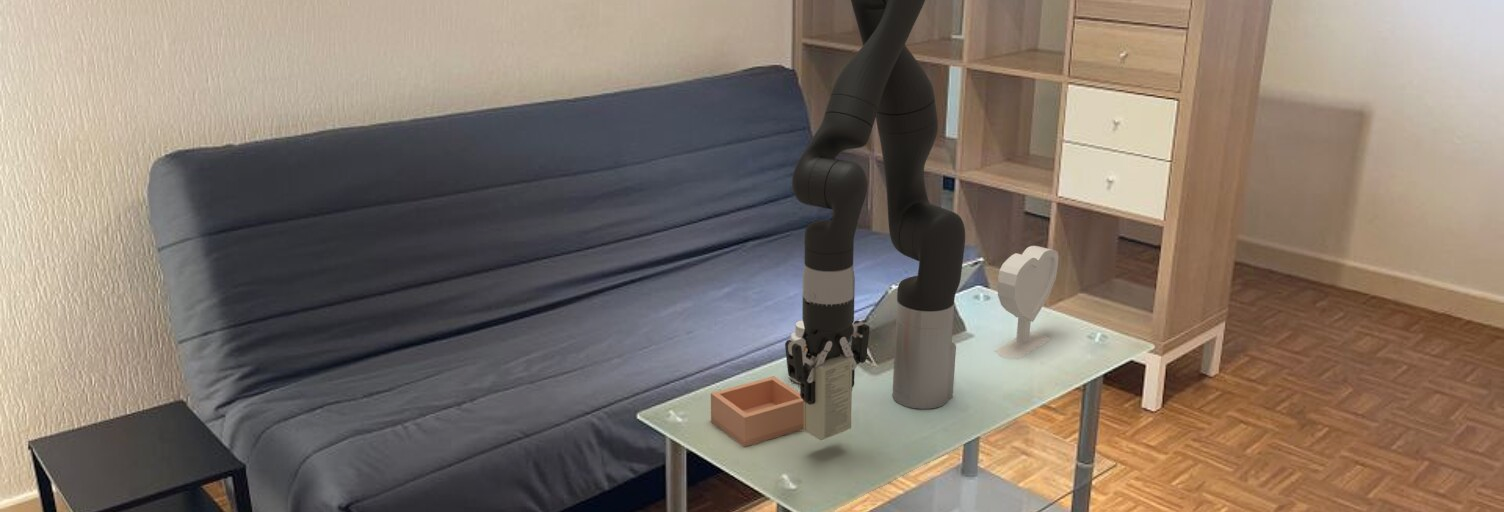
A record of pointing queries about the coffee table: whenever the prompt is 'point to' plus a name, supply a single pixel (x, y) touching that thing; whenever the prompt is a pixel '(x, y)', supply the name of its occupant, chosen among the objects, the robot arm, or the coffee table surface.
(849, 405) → the skincare box
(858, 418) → the coffee table surface
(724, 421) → the box
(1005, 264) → the heart sculpture
